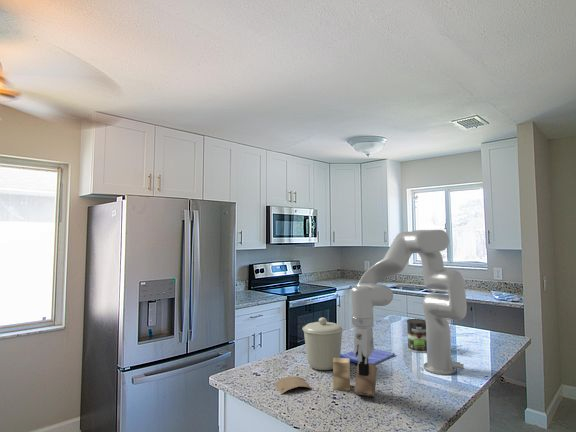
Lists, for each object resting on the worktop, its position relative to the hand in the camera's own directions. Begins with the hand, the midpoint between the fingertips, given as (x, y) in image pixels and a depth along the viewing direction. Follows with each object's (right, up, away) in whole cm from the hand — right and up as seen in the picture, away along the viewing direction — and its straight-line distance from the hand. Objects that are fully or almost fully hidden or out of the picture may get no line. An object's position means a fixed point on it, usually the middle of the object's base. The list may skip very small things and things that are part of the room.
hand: (363, 374), depth 127 cm
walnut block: (0, -7, 0) cm, 7 cm away
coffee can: (+38, -11, +53) cm, 66 cm away
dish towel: (+10, -11, +42) cm, 45 cm away
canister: (-11, -10, +31) cm, 35 cm away
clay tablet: (-25, -10, +10) cm, 28 cm away
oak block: (-6, -9, +9) cm, 14 cm away
